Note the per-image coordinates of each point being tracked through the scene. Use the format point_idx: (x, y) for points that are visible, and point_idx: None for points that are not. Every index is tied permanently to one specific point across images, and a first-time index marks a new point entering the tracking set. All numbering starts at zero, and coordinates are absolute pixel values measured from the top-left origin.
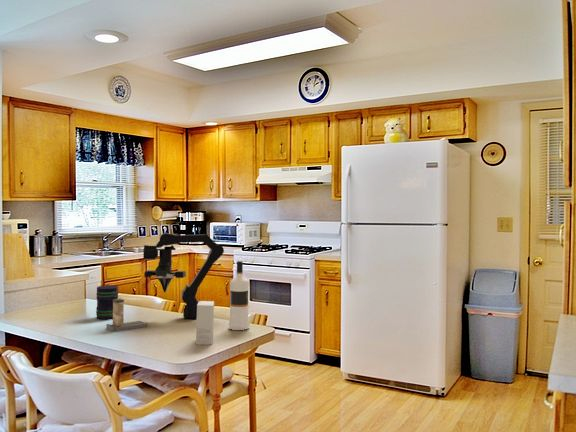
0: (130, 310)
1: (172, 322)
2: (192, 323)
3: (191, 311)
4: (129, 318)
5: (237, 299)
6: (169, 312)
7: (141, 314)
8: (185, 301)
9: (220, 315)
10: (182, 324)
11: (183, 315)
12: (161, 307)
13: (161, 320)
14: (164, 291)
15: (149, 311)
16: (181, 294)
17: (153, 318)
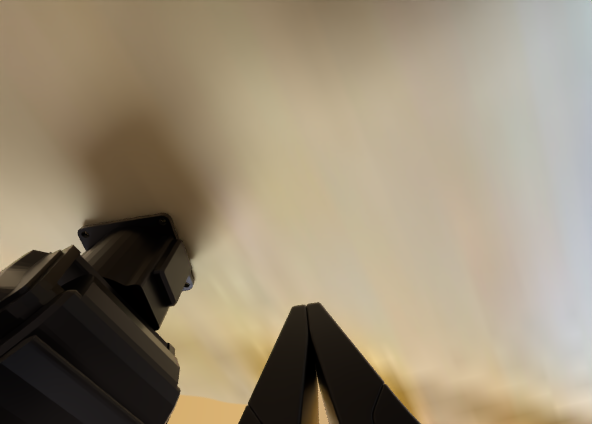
0: (568, 331)
1: (183, 96)
2: (19, 103)
3: (89, 253)
4: (534, 141)
5: None
6: None
7: (484, 264)
8: (77, 283)
9: None
10: (65, 45)
11: (177, 243)
12: (426, 417)
13: (294, 140)
14: (309, 308)
15: (459, 337)
16: (159, 393)
17: (373, 184)
